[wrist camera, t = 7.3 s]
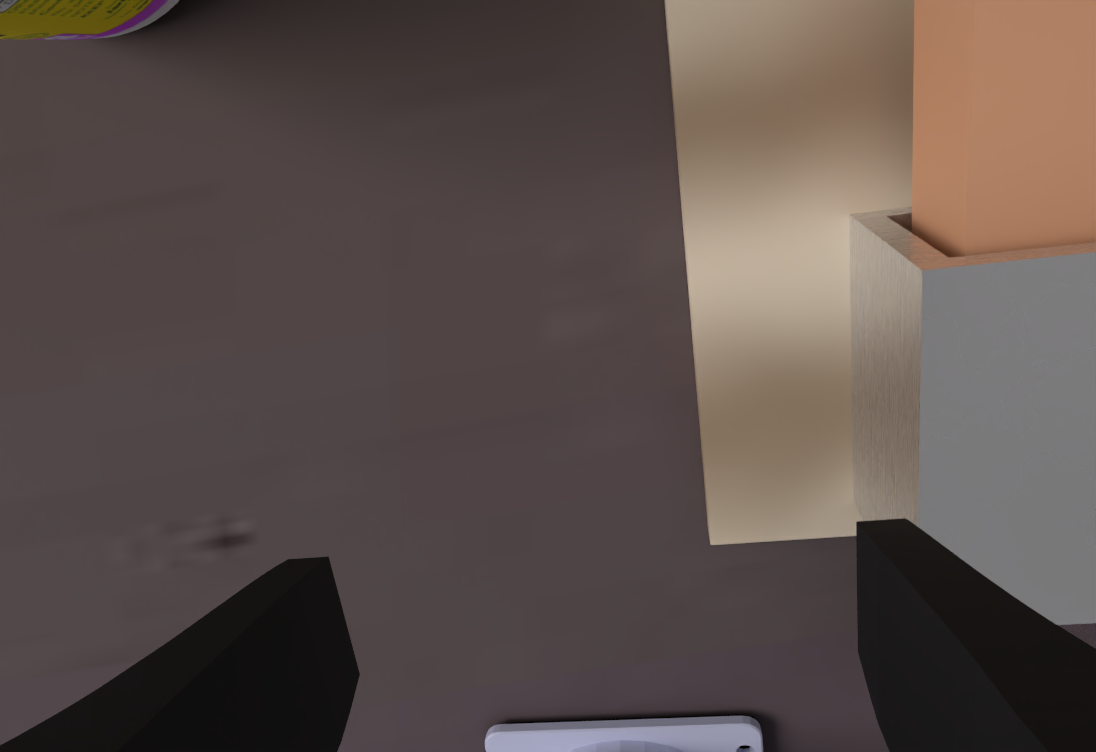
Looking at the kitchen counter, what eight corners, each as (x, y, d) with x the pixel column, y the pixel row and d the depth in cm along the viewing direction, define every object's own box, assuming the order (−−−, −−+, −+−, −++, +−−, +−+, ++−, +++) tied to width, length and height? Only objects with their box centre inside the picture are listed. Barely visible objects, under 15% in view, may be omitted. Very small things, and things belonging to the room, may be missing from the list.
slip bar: (1059, 340, 18) (1265, 481, 12) (910, 355, 18) (1037, 496, 12) (1113, -366, 13) (1469, -677, 8) (918, -327, 14) (1115, -593, 8)
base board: (1209, 494, 20) (1231, 511, 20) (708, 528, 22) (710, 544, 21) (1362, -522, 14) (1403, -554, 13) (634, -363, 16) (634, -385, 15)
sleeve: (1073, 484, 20) (1207, 617, 15) (853, 500, 20) (916, 631, 16) (1099, 185, 17) (1268, 233, 13) (849, 214, 18) (922, 270, 13)
